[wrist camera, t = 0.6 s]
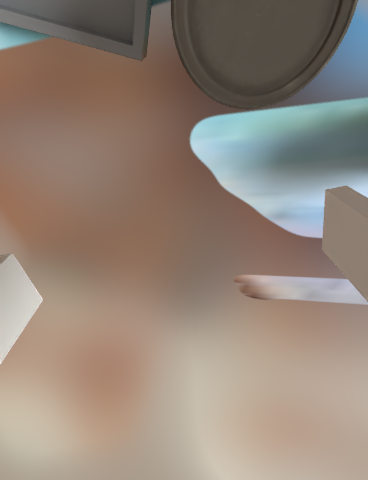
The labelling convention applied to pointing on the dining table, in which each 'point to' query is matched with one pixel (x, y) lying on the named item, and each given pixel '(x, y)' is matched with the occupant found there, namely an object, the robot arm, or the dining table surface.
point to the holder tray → (86, 22)
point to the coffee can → (257, 45)
